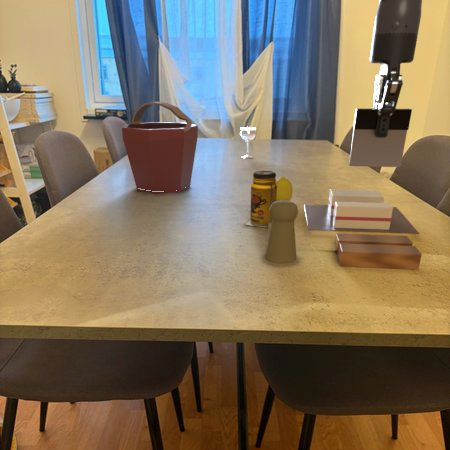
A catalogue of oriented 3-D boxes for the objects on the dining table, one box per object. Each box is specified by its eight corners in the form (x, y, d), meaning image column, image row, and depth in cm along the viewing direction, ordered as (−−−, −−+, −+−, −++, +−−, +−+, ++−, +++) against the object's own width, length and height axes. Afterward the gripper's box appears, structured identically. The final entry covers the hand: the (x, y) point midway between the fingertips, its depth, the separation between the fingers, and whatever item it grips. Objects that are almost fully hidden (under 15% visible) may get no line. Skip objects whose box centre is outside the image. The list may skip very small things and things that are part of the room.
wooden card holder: (404, 249, 88) (407, 235, 87) (418, 269, 79) (421, 254, 77) (334, 247, 89) (335, 233, 88) (340, 266, 80) (342, 251, 79)
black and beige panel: (399, 166, 87) (409, 108, 82) (401, 167, 85) (412, 109, 80) (348, 164, 88) (355, 108, 83) (349, 166, 86) (357, 109, 82)
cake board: (395, 210, 114) (396, 207, 113) (419, 238, 94) (419, 233, 94) (303, 208, 116) (303, 204, 116) (307, 234, 97) (308, 229, 96)
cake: (375, 209, 111) (378, 190, 108) (381, 217, 105) (384, 197, 102) (327, 208, 112) (329, 189, 110) (330, 216, 106) (332, 195, 104)
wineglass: (243, 158, 187) (244, 129, 181) (237, 156, 192) (237, 127, 187) (257, 157, 189) (258, 128, 184) (251, 155, 195) (252, 127, 189)
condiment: (244, 225, 103) (244, 173, 97) (256, 215, 110) (258, 167, 104) (272, 229, 100) (275, 176, 95) (284, 219, 107) (287, 169, 101)
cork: (274, 265, 81) (278, 207, 76) (259, 254, 86) (262, 199, 81) (302, 260, 83) (307, 203, 78) (286, 250, 88) (289, 196, 83)
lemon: (295, 207, 117) (297, 177, 113) (280, 210, 114) (281, 179, 111) (282, 202, 121) (284, 173, 117) (266, 205, 118) (268, 176, 115)
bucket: (210, 191, 133) (209, 102, 122) (143, 201, 123) (135, 105, 112) (176, 177, 152) (172, 99, 141) (115, 184, 142) (105, 101, 130)
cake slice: (385, 224, 100) (389, 203, 98) (389, 229, 96) (393, 207, 94) (332, 222, 101) (334, 201, 99) (334, 227, 98) (336, 206, 95)
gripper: (428, 28, 70) (407, 141, 78) (408, 35, 82) (392, 132, 90) (380, 28, 70) (365, 140, 78) (367, 36, 83) (355, 132, 91)
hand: (379, 136), depth 84 cm, fingers closed on black and beige panel, 2 cm apart
